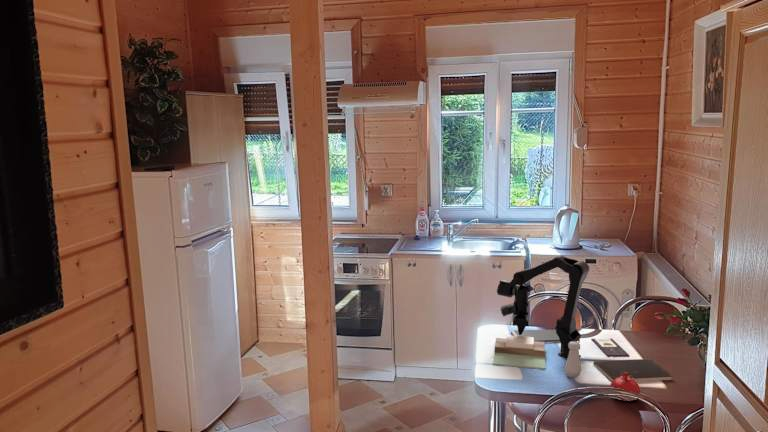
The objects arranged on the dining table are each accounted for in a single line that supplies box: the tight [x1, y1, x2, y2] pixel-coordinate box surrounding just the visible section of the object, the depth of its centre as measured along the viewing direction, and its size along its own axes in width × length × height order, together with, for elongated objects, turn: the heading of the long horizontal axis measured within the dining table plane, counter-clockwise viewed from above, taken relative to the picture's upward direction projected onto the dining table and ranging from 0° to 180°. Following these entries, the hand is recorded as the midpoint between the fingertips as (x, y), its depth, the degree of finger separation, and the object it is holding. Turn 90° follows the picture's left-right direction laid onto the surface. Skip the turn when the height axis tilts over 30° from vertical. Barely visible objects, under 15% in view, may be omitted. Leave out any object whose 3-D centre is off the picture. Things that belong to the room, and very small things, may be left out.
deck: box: [494, 337, 546, 358], centre depth 245 cm, size 10×20×3 cm, turn 77°
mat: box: [492, 352, 546, 370], centre depth 236 cm, size 12×20×1 cm, turn 77°
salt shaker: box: [564, 341, 582, 379], centre depth 222 cm, size 6×6×13 cm
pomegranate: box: [609, 372, 642, 394], centre depth 204 cm, size 10×10×9 cm
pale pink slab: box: [505, 334, 534, 349], centre depth 245 cm, size 11×8×2 cm
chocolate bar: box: [591, 338, 630, 358], centre depth 249 cm, size 9×1×18 cm
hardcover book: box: [592, 358, 673, 382], centre depth 225 cm, size 16×23×2 cm
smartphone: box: [510, 329, 581, 342], centre depth 261 cm, size 13×27×2 cm, turn 94°
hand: (520, 334), depth 253 cm, fingers closed
